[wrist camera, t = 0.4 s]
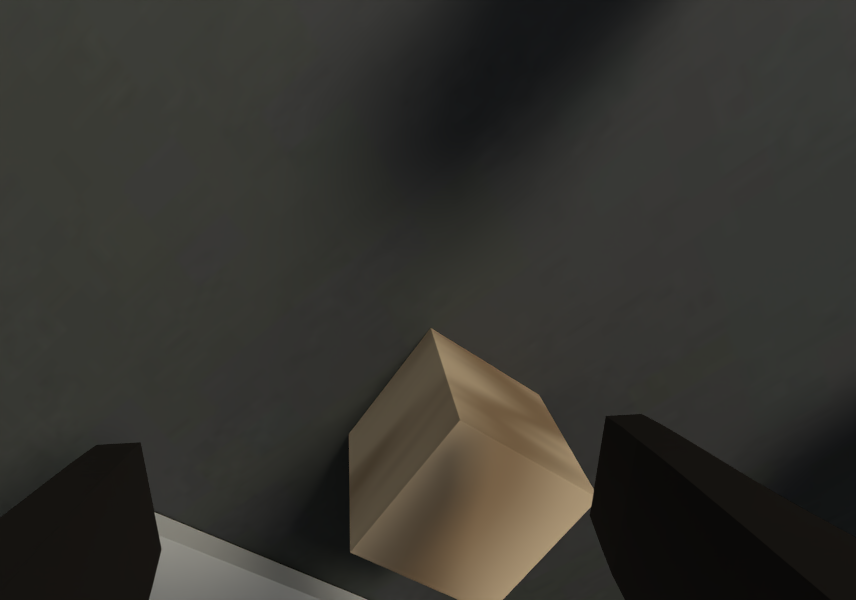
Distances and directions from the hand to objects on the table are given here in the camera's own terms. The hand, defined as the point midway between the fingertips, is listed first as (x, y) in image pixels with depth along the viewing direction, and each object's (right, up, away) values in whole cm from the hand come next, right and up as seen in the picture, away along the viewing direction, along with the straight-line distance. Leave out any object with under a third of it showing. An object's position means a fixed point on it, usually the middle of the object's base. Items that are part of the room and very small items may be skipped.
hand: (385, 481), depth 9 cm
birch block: (+1, -1, +10) cm, 10 cm away
